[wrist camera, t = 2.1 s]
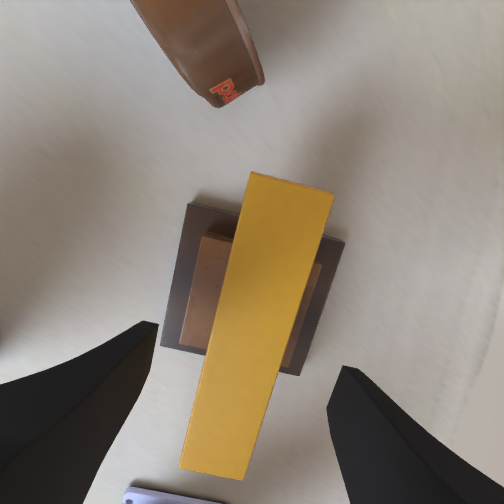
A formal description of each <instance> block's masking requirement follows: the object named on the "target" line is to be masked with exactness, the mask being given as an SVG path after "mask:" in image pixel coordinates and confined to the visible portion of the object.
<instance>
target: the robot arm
mask: <svg viewBox="0 0 504 504" xmlns="http://www.w3.org/2000/svg"><path fill="white" fill-rule="evenodd" d="M158 326H159V324H156V323H152V322H147V321H141V322H139V323H138V324H136V325H134V326H132V327H131V328H129V329H127V330H126V331H124V332H122V333H121V334H119V335H117V336H116V337H114V338H112V339H111V340H109V341H107V342H105V343H104V344H102V345H100V346H98V347H96V348H94V349H92V350H90V351H88V352H86V353H84V354H82V355H80V356H78V357H76V358H74V359H71V360H69V361H67V362H64V363H62V364H59V365H57V366H54V367H52V368H49V369H47V370H44V371H41V372H38V373H35V374H32V375H29V376H26V377H23V378H20V379H17V380H14V381H11V382H7V383H4V384H0V504H83V502H84V500H85V498H86V495H87V493H88V491H89V489H90V487H91V485H92V482H93V480H94V478H95V476H96V474H97V471H98V469H99V467H100V465H101V463H102V461H103V459H104V458H105V456H106V454H107V452H108V450H109V448H110V447H111V445H112V443H113V441H114V440H115V438H116V436H117V434H118V433H119V431H120V429H121V427H122V426H123V424H124V422H125V420H126V419H127V417H128V415H129V413H130V411H131V410H132V408H133V406H134V404H135V403H136V401H137V399H138V397H139V395H140V393H141V391H142V388H143V386H144V384H145V381H146V379H147V377H148V374H149V372H150V368H151V363H152V358H153V353H154V347H155V342H156V337H157V332H158ZM327 415H328V423H329V428H330V434H331V438H332V442H333V445H334V449H335V452H336V456H337V459H338V463H339V466H340V470H341V473H342V476H343V480H344V483H345V487H346V490H347V493H348V497H349V500H350V504H504V487H502V486H501V485H499V484H498V483H496V482H495V481H493V480H492V479H490V478H489V477H487V476H486V475H485V474H483V473H482V472H480V471H479V470H477V469H476V468H474V467H473V466H471V465H470V464H468V463H467V462H466V461H464V460H463V459H462V458H460V457H459V456H458V455H456V454H455V453H454V452H452V451H451V450H450V449H449V448H447V447H446V446H445V445H443V444H442V443H441V442H439V441H438V440H437V439H436V438H435V437H433V436H432V435H431V434H430V433H428V432H427V431H426V430H425V429H424V428H423V427H422V426H420V425H419V424H418V423H417V422H416V421H415V420H413V419H412V418H411V417H410V416H409V415H408V414H407V413H406V412H405V411H403V410H402V409H401V408H400V407H399V406H398V405H397V404H396V403H395V402H394V401H393V400H392V399H391V398H390V397H389V396H387V395H386V394H385V393H384V392H383V391H382V390H381V389H380V388H379V387H378V386H377V385H376V384H375V383H374V382H373V381H372V380H371V379H369V378H368V377H367V376H366V375H365V374H364V373H363V372H361V371H360V370H359V369H357V368H353V367H348V366H344V365H343V366H342V369H341V371H340V374H339V377H338V379H337V382H336V384H335V387H334V390H333V392H332V395H331V397H330V400H329V403H328V405H327ZM122 504H222V503H217V502H211V501H206V500H201V499H195V498H190V497H185V496H179V495H174V494H169V493H163V492H158V491H153V490H147V489H142V488H137V487H128V488H127V489H126V491H125V493H124V497H123V502H122Z"/></svg>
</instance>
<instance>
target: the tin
mask: <svg viewBox="0 0 504 504" xmlns="http://www.w3.org/2000/svg"><path fill="white" fill-rule="evenodd" d="M130 1H131V3H132V4H133V6H134V7H135V9H136V11H137V12H138V14H139V15H140V17H141V18H142V20H143V21H144V23H145V25H146V26H147V28H148V29H149V31H150V32H151V34H152V35H153V37H154V38H155V40H156V41H157V42H158V44H159V45H160V47H161V48H162V50H163V51H164V53H165V54H166V56H167V57H168V58H169V60H170V61H171V63H172V64H173V65H174V67H175V68H176V69H177V71H178V72H179V74H180V75H181V76H182V77H183V79H184V80H185V81H186V82H187V84H188V85H189V86H190V87H191V88H192V89H193V90H194V91H195V92H196V93H197V94H198V95H200V96H202V97H204V98H205V99H206V100H207V101H208V102H209V103H210V104H211V105H212V106H214V107H215V108H221V107H223V106H225V105H226V104H228V103H230V102H231V101H233V100H234V99H236V98H237V97H239V96H240V95H242V94H243V93H245V92H246V91H248V90H249V89H251V88H252V87H254V86H256V85H263V84H264V82H265V79H264V74H263V70H262V66H261V64H260V61H259V58H258V55H257V52H256V49H255V47H254V43H253V40H252V38H251V36H250V33H249V30H248V27H247V24H246V22H245V20H244V17H243V15H242V13H241V10H240V8H239V6H238V3H237V1H236V0H130Z"/></svg>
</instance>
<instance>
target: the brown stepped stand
mask: <svg viewBox="0 0 504 504" xmlns="http://www.w3.org/2000/svg"><path fill="white" fill-rule="evenodd" d="M239 216H240V214H236V213H232V212H228V211H224V210H220V209H216V208H212V207H208V206H204V205H200V204H196V203H192V202H190V203H188V204H187V209H186V214H185V219H184V224H183V229H182V235H181V240H180V245H179V250H178V255H177V260H176V265H175V270H174V275H173V280H172V286H171V291H170V296H169V301H168V306H167V311H166V316H165V321H164V326H163V331H162V337H161V342H160V346H163V347H168V348H173V349H177V350H182V351H186V352H191V353H195V354H200V355H205V356H206V351H207V347H208V343H209V339H210V335H211V331H212V327H213V323H214V319H215V314H216V310H217V306H218V302H219V298H220V294H221V290H222V286H223V282H224V278H225V273H226V269H227V265H228V261H229V257H230V253H231V249H232V245H233V241H234V236H235V232H236V228H237V224H238V220H239ZM344 245H345V243H344V242H343V241H342V240H339V239H335V238H331V237H327V236H323V235H322V238H321V241H320V244H319V247H318V250H317V253H316V256H315V260H314V263H313V266H312V269H311V272H310V275H309V278H308V281H307V285H306V288H305V291H304V294H303V297H302V300H301V303H300V306H299V309H298V313H297V316H296V319H295V322H294V325H293V328H292V331H291V334H290V337H289V341H288V344H287V347H286V350H285V353H284V356H283V359H282V362H281V366H280V369H279V372H282V373H287V374H291V375H296V376H300V373H301V371H302V368H303V365H304V362H305V359H306V356H307V353H308V350H309V347H310V344H311V341H312V339H313V336H314V333H315V330H316V327H317V324H318V321H319V318H320V315H321V312H322V309H323V307H324V304H325V301H326V298H327V295H328V292H329V289H330V286H331V283H332V280H333V277H334V275H335V272H336V269H337V266H338V263H339V260H340V257H341V254H342V251H343V248H344Z"/></svg>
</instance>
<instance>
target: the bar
mask: <svg viewBox="0 0 504 504" xmlns="http://www.w3.org/2000/svg"><path fill="white" fill-rule="evenodd" d="M334 197H335V195H334V194H333V193H330V192H327V191H324V190H321V189H317V188H314V187H310V186H306V185H302V184H298V183H295V182H291V181H287V180H283V179H279V178H276V177H272V176H268V175H264V174H260V173H256V172H251V173H250V175H249V179H248V183H247V187H246V191H245V195H244V199H243V204H242V208H241V212H240V216H239V220H238V224H237V228H236V232H235V236H234V241H233V245H232V249H231V253H230V257H229V261H228V265H227V269H226V273H225V278H224V282H223V286H222V290H221V294H220V298H219V302H218V306H217V310H216V314H215V319H214V323H213V327H212V331H211V335H210V339H209V343H208V347H207V351H206V356H205V360H204V364H203V368H202V372H201V376H200V380H199V384H198V388H197V393H196V397H195V401H194V405H193V409H192V413H191V417H190V421H189V425H188V430H187V434H186V438H185V442H184V446H183V450H182V454H181V458H180V462H179V468H180V469H185V470H190V471H195V472H200V473H206V474H211V475H216V476H221V477H226V478H231V479H237V480H244V478H245V475H246V471H247V468H248V465H249V462H250V459H251V456H252V453H253V450H254V447H255V443H256V440H257V437H258V434H259V431H260V428H261V425H262V422H263V418H264V415H265V412H266V409H267V406H268V403H269V400H270V397H271V394H272V390H273V387H274V384H275V381H276V378H277V375H278V372H279V369H280V366H281V362H282V359H283V356H284V353H285V350H286V347H287V344H288V341H289V337H290V334H291V331H292V328H293V325H294V322H295V319H296V316H297V313H298V309H299V306H300V303H301V300H302V297H303V294H304V291H305V288H306V285H307V281H308V278H309V275H310V272H311V269H312V266H313V263H314V260H315V256H316V253H317V250H318V247H319V244H320V241H321V238H322V235H323V232H324V228H325V225H326V222H327V219H328V216H329V213H330V210H331V207H332V204H333V200H334Z"/></svg>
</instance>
